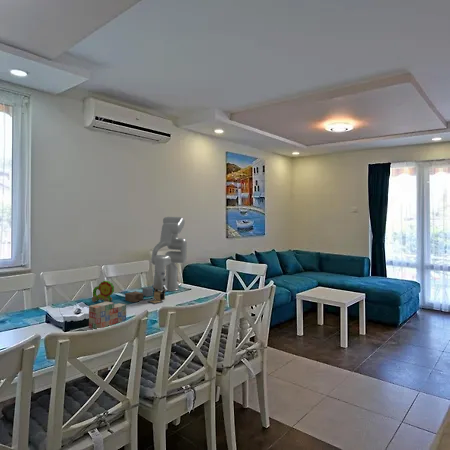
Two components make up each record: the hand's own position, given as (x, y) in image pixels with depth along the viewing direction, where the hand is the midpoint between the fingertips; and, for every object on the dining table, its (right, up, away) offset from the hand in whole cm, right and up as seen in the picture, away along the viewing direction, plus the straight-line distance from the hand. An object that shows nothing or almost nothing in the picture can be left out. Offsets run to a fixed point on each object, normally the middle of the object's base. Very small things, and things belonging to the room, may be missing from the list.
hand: (159, 298), depth 263 cm
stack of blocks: (-19, -3, -58) cm, 61 cm away
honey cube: (0, -1, 0) cm, 1 cm away
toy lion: (-37, -1, -11) cm, 39 cm away
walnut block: (-17, -1, -4) cm, 18 cm away
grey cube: (-11, 0, +12) cm, 16 cm away
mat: (-1, -1, -8) cm, 8 cm away
